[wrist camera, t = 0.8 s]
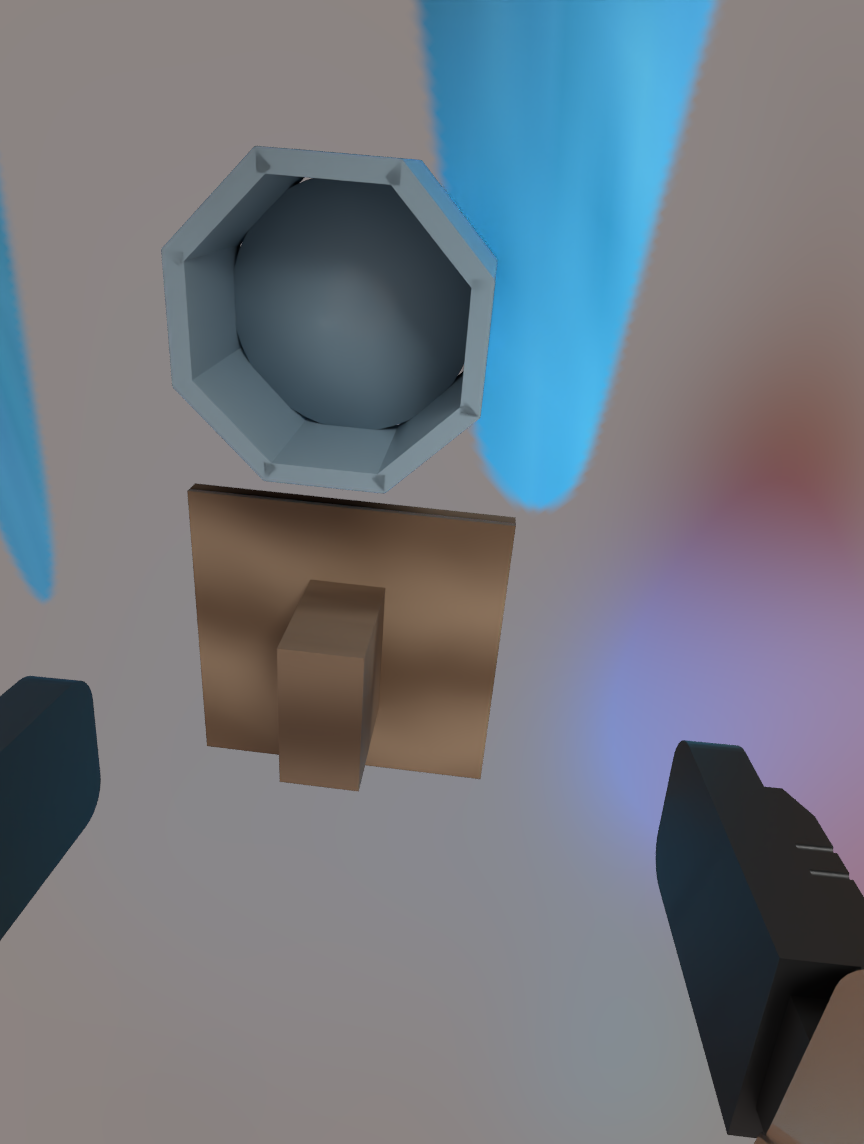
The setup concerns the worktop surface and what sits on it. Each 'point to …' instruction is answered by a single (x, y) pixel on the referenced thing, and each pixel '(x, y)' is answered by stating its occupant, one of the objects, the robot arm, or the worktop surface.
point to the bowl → (330, 316)
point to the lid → (347, 631)
